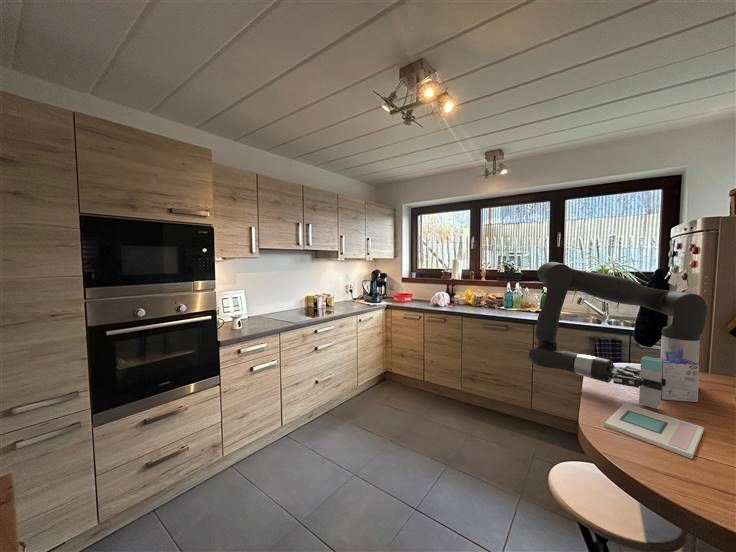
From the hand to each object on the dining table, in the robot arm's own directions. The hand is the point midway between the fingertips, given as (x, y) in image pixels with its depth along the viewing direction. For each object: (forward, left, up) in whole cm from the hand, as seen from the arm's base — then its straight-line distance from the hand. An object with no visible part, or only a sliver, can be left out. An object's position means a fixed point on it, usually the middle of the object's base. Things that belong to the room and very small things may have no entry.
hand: (663, 384), depth 86 cm
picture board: (+14, +1, -8) cm, 16 cm away
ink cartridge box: (-15, 0, -8) cm, 17 cm away
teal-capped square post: (0, -3, -7) cm, 8 cm away
